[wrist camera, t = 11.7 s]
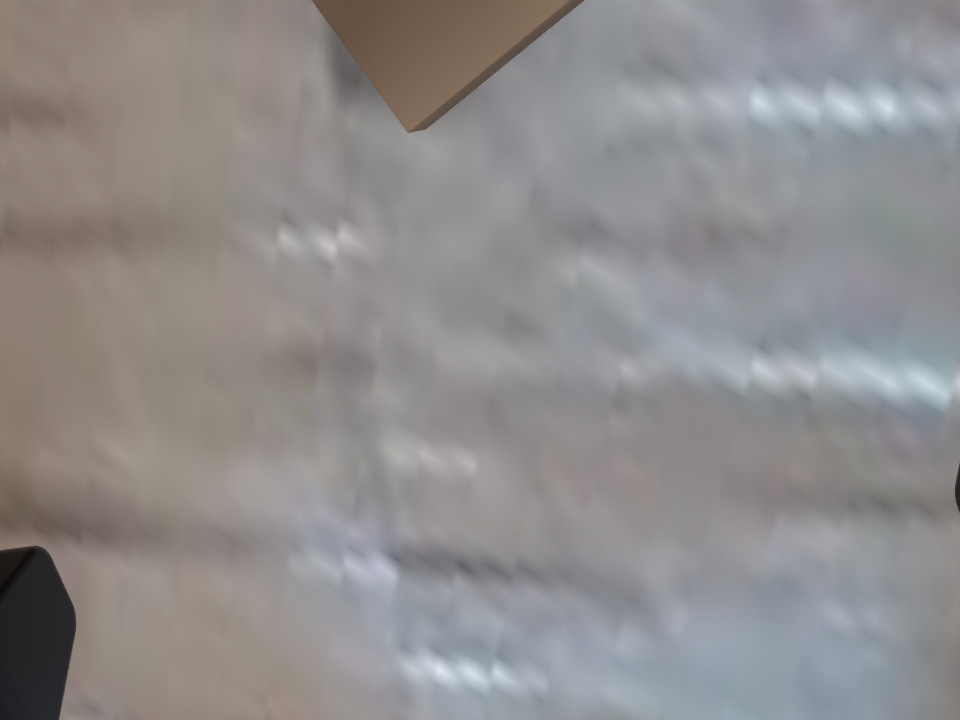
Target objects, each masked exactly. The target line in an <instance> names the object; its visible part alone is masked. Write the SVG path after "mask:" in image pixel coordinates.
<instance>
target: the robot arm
mask: <svg viewBox="0 0 960 720" xmlns="http://www.w3.org/2000/svg"><path fill="white" fill-rule="evenodd" d="M955 498H956V503H957V507H958V510H959V512H960V464H959V469H958V474H957V479H956V484H955ZM75 632H76V615H75V610H74V607H73V604H72V601H71V599H70V597H69V595H68V593H67V590H66V588H65V586H64V584H63V582H62V579H61V577H60V575H59V573H58V571H57V569H56V566H55V564H54V562H53V560H52V558H51V556H50V554H49V553H48V552H47V551H46V550H45V549H44V548H42V547H39V546H28V547H21V548H13V549H6V550H1V551H0V720H59V717H60V712H61V707H62V701H63V696H64V691H65V685H66V680H67V675H68V670H69V664H70V659H71V654H72V648H73V643H74V638H75Z"/></svg>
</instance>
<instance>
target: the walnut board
mask: <svg viewBox="0 0 960 720" xmlns="http://www.w3.org/2000/svg"><path fill="white" fill-rule="evenodd" d="M312 1H313V2H314V4H315V5H316V7H317V8H318V9H319V11H320V12H321V14H322V15H323V16H324V18H325V19H326V20H327V22H328V23H329V25H330V26H331V27H332V29H333V30H334V31H335V33H336V34H337V36H338V37H339V38H340V40H341V41H342V43H343V44H344V45H345V47H346V48H347V49H348V51H349V52H350V54H351V55H352V56H353V58H354V59H355V61H356V62H357V63H358V65H359V66H360V67H361V69H362V70H363V72H364V73H365V74H366V76H367V77H368V78H369V80H370V81H371V83H372V84H373V85H374V87H375V88H376V90H377V91H378V92H379V94H380V95H381V96H382V98H383V99H384V101H385V102H386V103H387V105H388V106H389V107H390V109H391V110H392V112H393V113H394V114H395V116H396V117H397V119H398V120H399V121H400V123H401V124H402V125H403V127H404V128H405V130H406V131H407V132H408V133H409V132H414V131H419V130H425V129H427V128H428V127H429V126H430V125H432V124H433V123H434V122H435V121H436V120H438V119H439V118H440V117H441V116H443V115H444V114H445V113H446V112H448V111H449V110H450V109H451V108H452V107H454V106H455V105H456V104H457V103H459V102H460V101H461V100H462V99H463V98H465V97H466V96H467V95H468V94H470V93H471V92H472V91H473V90H475V89H476V88H477V87H478V86H479V85H481V84H482V83H483V82H484V81H486V80H487V79H488V78H489V77H490V76H492V75H493V74H494V73H495V72H497V71H498V70H499V69H500V68H502V67H503V66H504V65H505V64H506V63H508V62H509V61H510V60H511V59H513V58H514V57H515V56H516V55H517V54H519V53H520V52H521V51H522V50H524V49H525V48H526V47H527V46H528V45H530V44H531V43H532V42H533V41H535V40H536V39H537V38H538V37H540V36H541V35H542V34H543V33H544V32H546V31H547V30H548V29H549V28H551V27H552V26H553V25H554V24H555V23H557V22H558V21H559V20H560V19H562V18H563V17H564V16H565V15H567V14H568V13H569V12H570V11H571V10H573V9H574V8H575V7H576V6H578V5H579V4H580V3H581V2H582V1H584V0H312Z"/></svg>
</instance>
